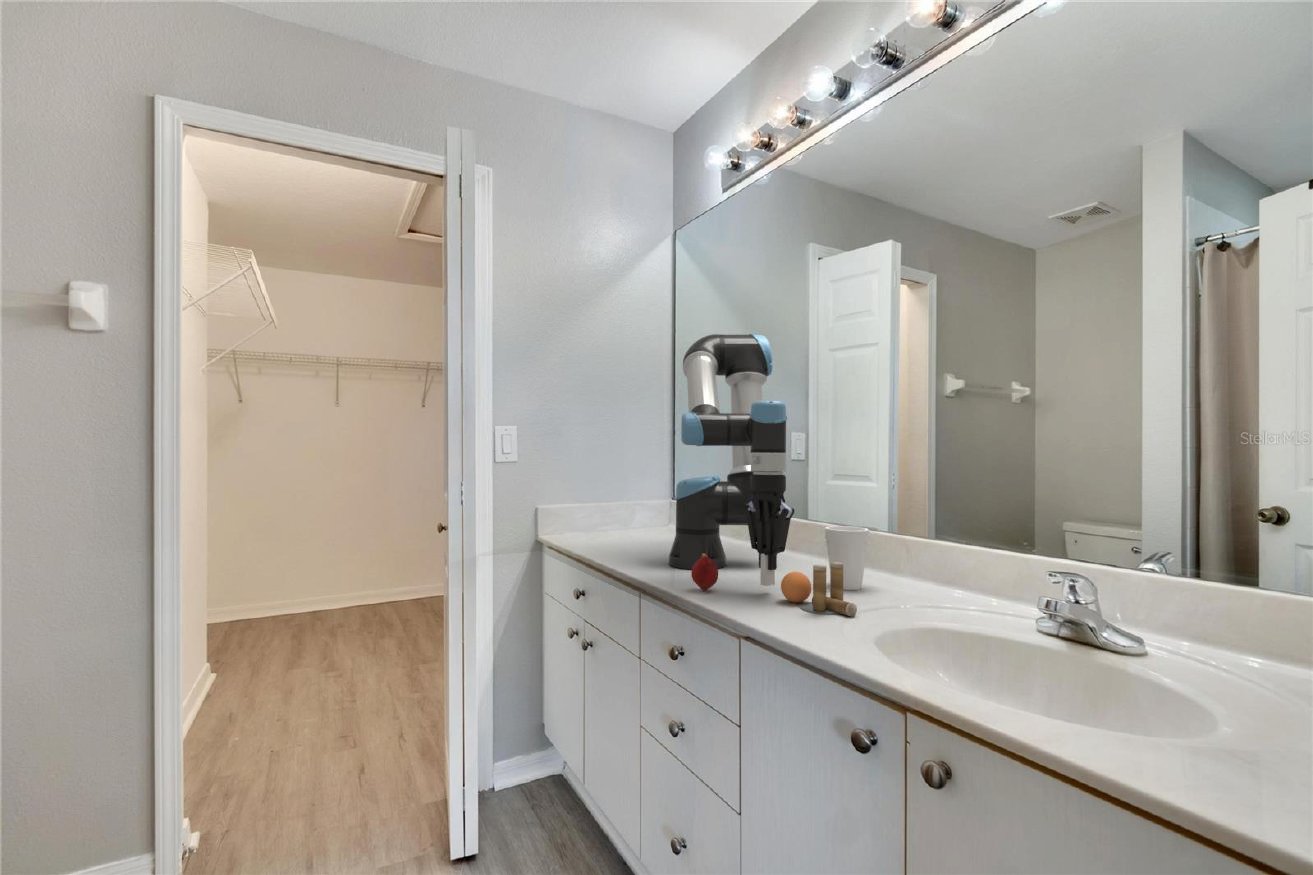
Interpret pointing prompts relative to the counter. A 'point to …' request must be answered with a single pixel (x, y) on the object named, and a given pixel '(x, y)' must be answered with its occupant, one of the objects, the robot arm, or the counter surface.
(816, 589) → the pin
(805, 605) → the pin spot
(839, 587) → the pin
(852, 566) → the foam cup
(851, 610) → the pin front
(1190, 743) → the counter surface
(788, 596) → the ball
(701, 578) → the onion
